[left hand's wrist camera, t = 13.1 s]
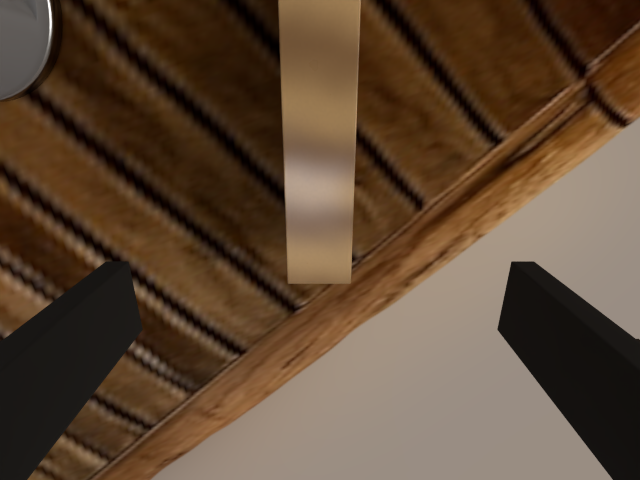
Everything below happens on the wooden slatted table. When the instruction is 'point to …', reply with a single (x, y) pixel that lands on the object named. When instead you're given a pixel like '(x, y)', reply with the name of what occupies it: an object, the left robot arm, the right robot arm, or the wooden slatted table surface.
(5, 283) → the wooden slatted table surface
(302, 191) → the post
